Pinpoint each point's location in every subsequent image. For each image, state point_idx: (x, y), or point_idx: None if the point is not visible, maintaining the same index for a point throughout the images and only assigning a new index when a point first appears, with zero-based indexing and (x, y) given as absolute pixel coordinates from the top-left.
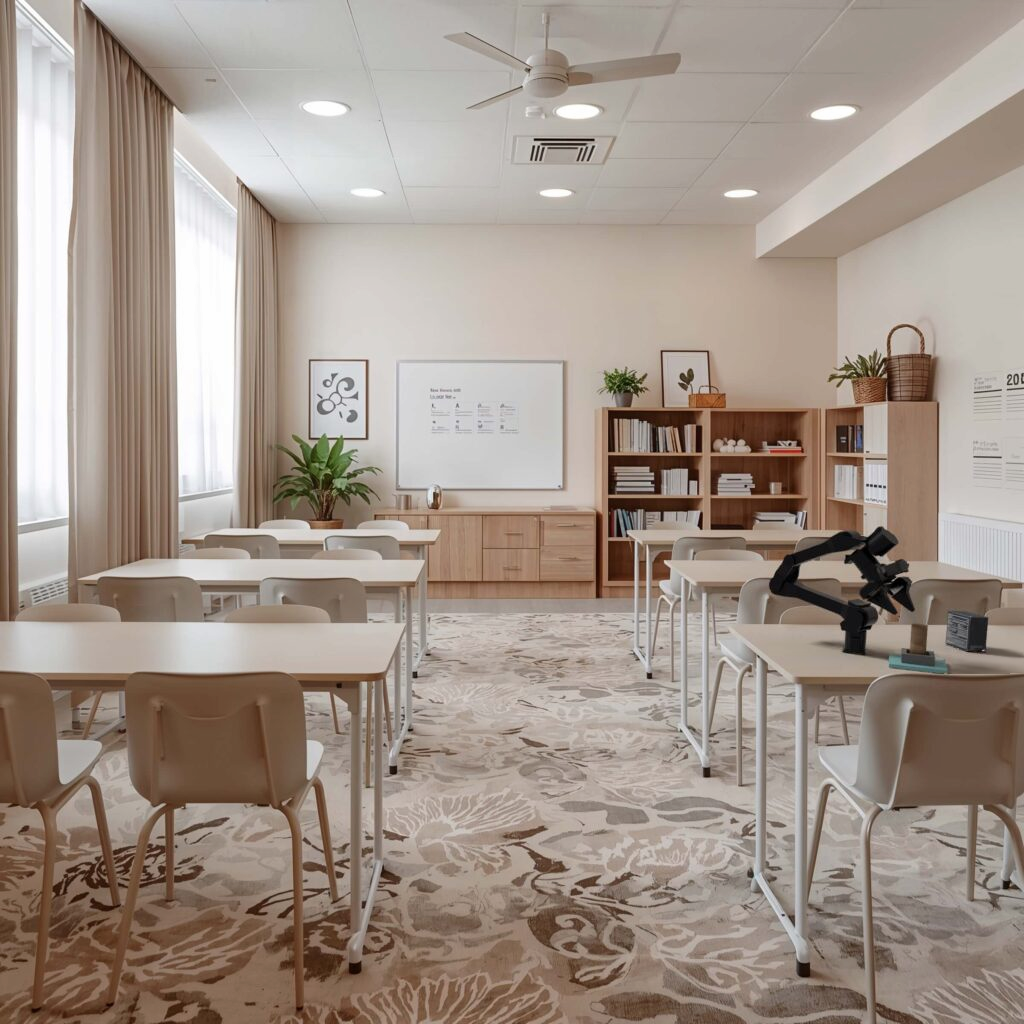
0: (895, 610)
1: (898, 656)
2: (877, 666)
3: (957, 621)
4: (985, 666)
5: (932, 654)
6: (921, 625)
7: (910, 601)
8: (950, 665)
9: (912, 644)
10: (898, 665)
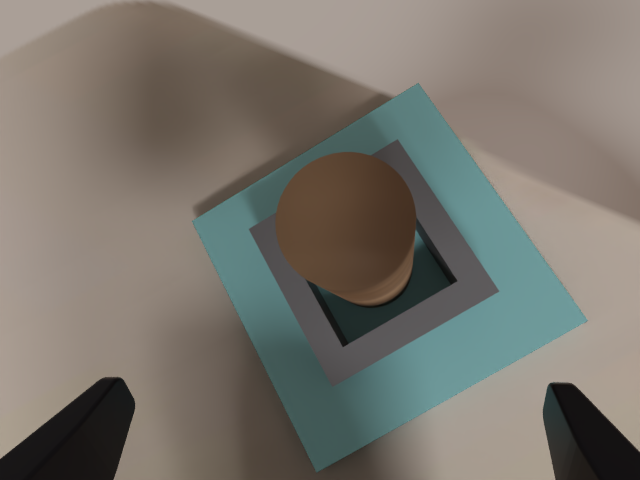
0: (597, 409)
1: (344, 394)
2: (620, 374)
3: None
4: (103, 106)
5: None
6: (358, 193)
7: (30, 471)
8: (217, 188)
9: (411, 264)
10: (554, 276)
